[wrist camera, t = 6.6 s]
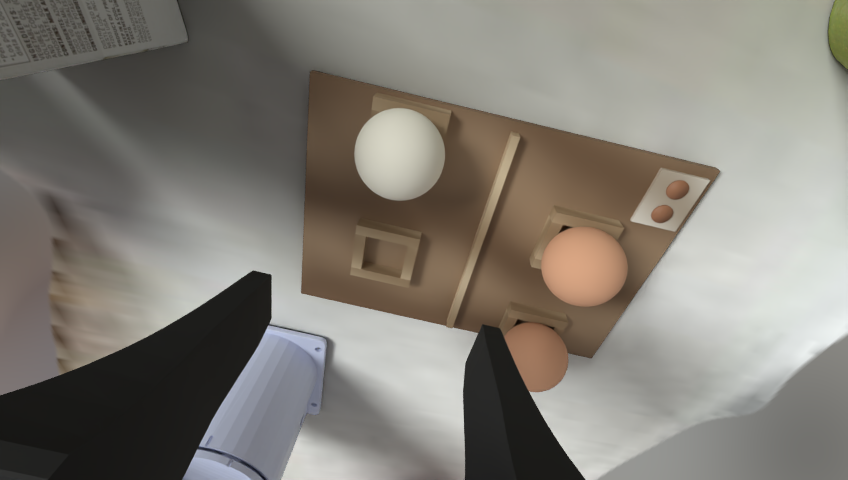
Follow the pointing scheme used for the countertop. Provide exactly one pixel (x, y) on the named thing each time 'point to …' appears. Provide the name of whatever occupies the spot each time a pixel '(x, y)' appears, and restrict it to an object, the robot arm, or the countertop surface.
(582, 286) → the terracotta ball
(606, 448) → the countertop surface
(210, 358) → the robot arm
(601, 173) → the board
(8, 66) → the coffee box
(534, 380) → the terracotta ball
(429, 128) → the cream ball
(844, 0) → the plant pot
